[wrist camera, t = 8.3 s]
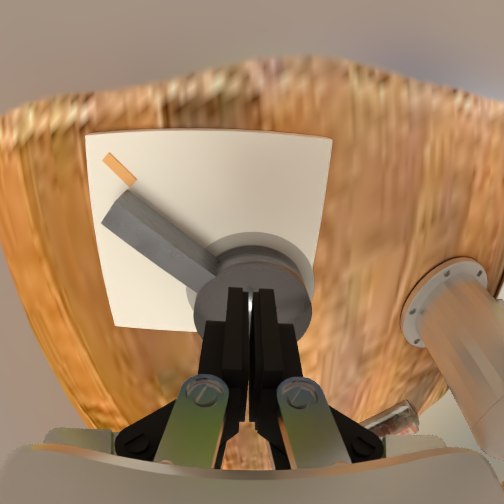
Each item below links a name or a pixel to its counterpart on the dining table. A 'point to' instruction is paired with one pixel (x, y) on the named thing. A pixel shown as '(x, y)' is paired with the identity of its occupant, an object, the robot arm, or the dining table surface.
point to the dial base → (204, 206)
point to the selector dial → (211, 266)
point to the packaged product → (394, 421)
